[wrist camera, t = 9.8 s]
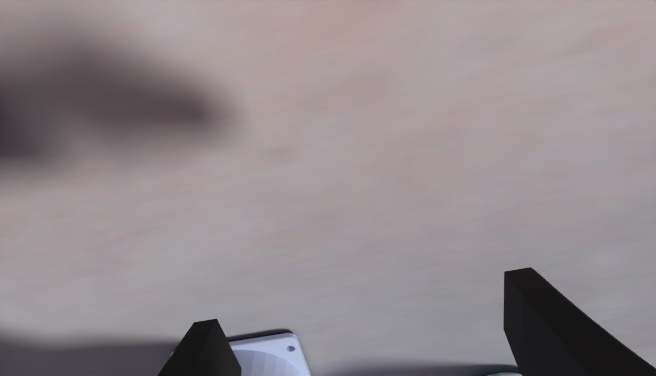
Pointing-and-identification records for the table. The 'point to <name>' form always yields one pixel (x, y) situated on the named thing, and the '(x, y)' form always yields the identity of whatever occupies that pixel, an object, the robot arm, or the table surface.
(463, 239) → the table surface
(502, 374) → the can
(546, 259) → the table surface
